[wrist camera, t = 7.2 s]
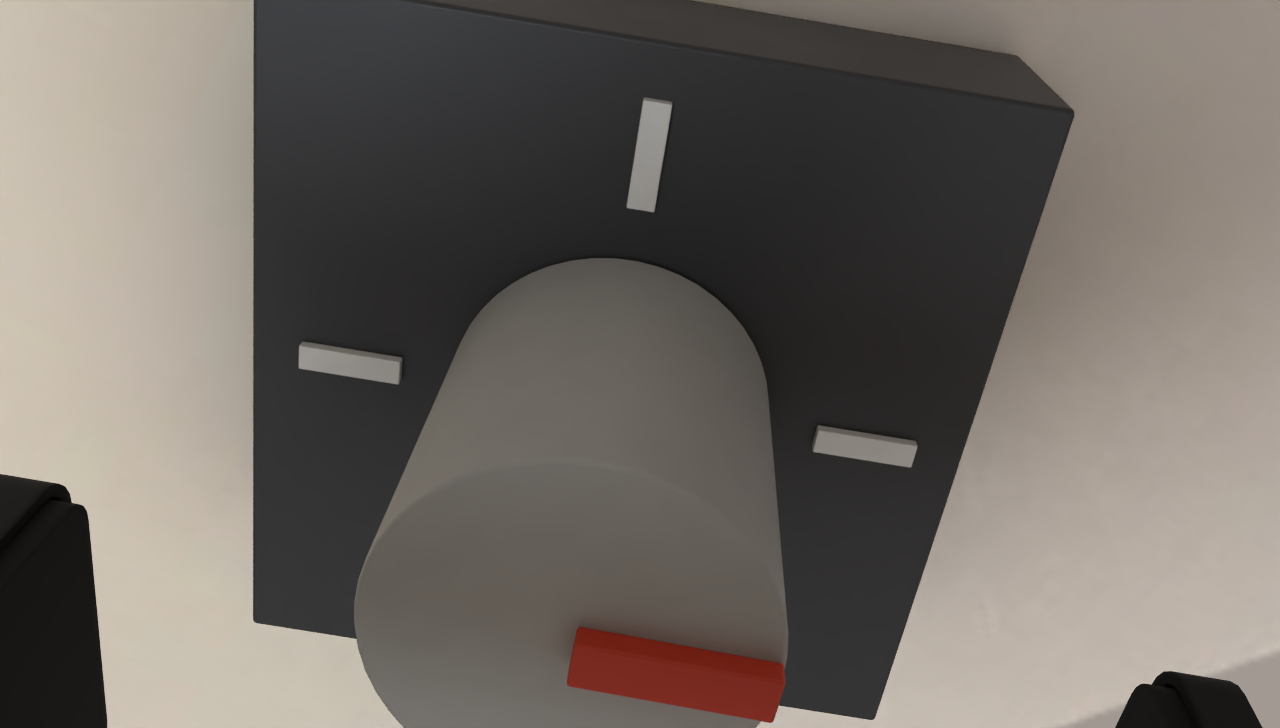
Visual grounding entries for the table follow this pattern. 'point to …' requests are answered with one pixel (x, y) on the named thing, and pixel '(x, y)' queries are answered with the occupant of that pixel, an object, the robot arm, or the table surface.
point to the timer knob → (585, 519)
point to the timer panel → (645, 232)
